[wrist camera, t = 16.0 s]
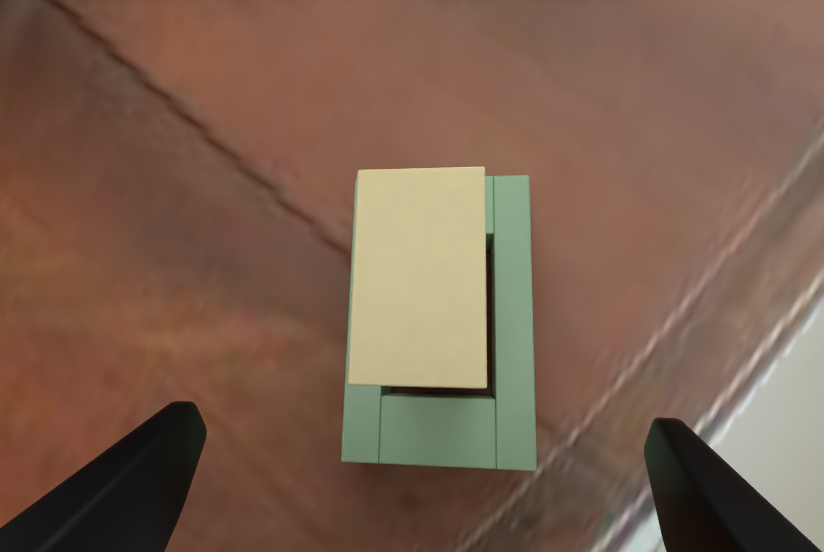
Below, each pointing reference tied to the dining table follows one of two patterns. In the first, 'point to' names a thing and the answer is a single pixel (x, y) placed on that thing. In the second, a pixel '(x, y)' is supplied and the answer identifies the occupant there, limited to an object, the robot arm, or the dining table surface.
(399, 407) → the base
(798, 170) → the dining table surface
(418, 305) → the beige rectangular block
